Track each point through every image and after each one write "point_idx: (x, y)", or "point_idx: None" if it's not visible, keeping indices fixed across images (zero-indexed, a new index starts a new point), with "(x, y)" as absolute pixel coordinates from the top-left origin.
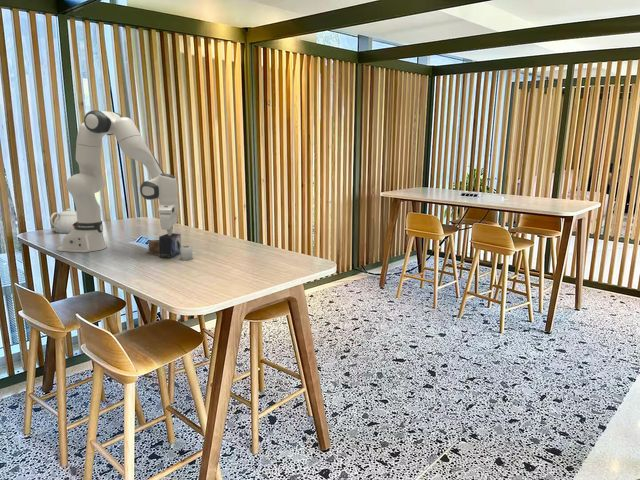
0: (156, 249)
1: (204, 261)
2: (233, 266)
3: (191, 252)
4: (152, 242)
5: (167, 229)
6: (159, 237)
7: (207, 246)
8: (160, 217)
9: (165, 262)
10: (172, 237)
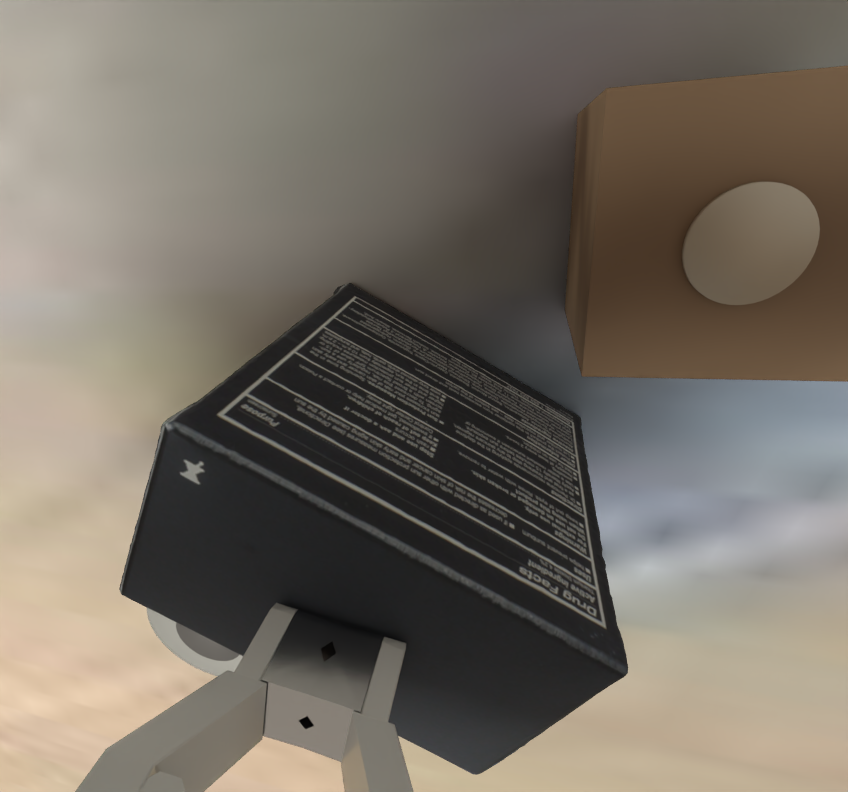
0: (574, 253)
1: None
2: (103, 715)
3: None
4: (611, 196)
5: (125, 750)
6: (172, 420)
7: (747, 757)
8: None
9: (141, 344)
10: (201, 628)
